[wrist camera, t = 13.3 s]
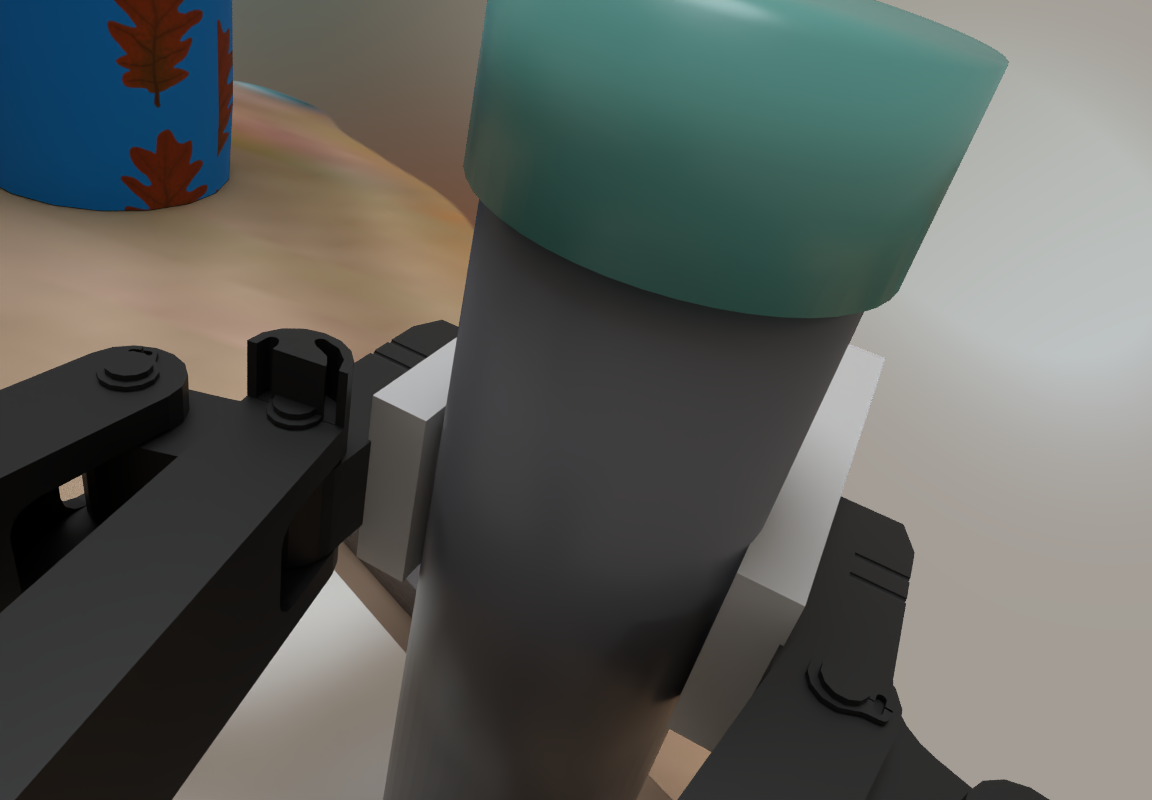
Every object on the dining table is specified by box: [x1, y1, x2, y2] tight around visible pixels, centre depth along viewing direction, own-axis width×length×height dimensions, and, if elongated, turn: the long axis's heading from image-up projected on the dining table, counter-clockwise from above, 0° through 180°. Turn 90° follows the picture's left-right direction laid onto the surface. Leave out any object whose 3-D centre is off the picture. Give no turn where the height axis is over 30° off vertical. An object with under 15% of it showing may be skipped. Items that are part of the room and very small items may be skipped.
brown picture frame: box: [172, 528, 672, 800], centre depth 17 cm, size 16×12×2 cm
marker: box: [383, 0, 1009, 800], centre depth 11 cm, size 4×4×15 cm
